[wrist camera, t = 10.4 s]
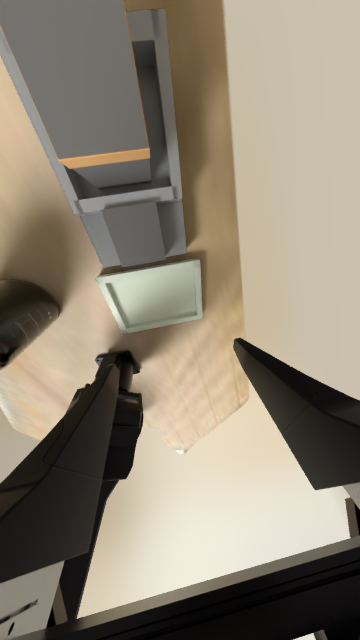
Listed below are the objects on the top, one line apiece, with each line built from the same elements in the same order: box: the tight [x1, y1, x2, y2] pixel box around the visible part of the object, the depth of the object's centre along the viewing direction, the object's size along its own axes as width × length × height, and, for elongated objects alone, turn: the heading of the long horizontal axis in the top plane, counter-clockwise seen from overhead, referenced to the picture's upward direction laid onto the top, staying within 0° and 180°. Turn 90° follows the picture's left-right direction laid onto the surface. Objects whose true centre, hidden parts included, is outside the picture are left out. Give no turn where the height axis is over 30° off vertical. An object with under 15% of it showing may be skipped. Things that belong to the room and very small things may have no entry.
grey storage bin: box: [0, 8, 187, 268], centre depth 12 cm, size 12×10×4 cm
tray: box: [95, 258, 203, 334], centre depth 19 cm, size 9×13×1 cm
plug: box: [0, 0, 151, 189], centre depth 8 cm, size 5×5×6 cm
